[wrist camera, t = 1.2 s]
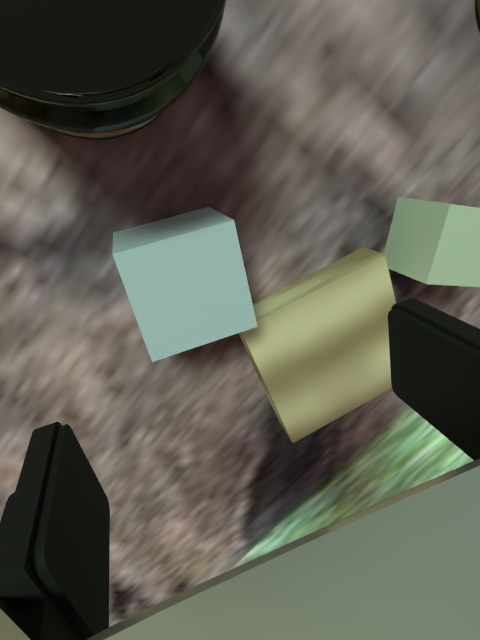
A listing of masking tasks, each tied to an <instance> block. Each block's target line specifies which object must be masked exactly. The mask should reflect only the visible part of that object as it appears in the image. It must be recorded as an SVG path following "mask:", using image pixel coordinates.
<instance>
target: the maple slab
mask: <svg viewBox="0 0 480 640" xmlns="http://www.w3.org/2000/svg"><path fill="white" fill-rule="evenodd" d="M394 304H396V301H395V296H394V292H393V288H392V283H391V279H390V274H389V270H388V266H387V261H386V257H385V254H382V253H379V252H376V251H373V250H371V249H368V248H365V247H363V248H361V249H359V250H357V251H355V252H353V253H351V254H349V255H347V256H345V257H343V258H341V259H339V260H337V261H335V262H333V263H331V264H329V265H327V266H326V267H324V268H322V269H320V270H318V271H316V272H314V273H312V274H310V275H308V276H306V277H304V278H302V279H300V280H298V281H296V282H294V283H292V284H290V285H288V286H286V287H284V288H282V289H280V290H278V291H277V292H275V293H273V294H271V295H269V296H267V297H265V298H263V299H261V300H259V301H257V302H255V303H253V308H254V313H255V317H256V322H257V326H258V327H255V328H252V329H249V330H246V331H243V332H240V333H238V334H239V336H240V338H241V340H242V342H243V345H244V347H245V349H246V351H247V353H248V355H249V358H250V360H251V362H252V364H253V366H254V368H255V370H256V373H257V375H258V377H259V379H260V381H261V383H262V385H263V388H264V390H265V392H266V394H267V396H268V398H269V401H270V403H271V405H272V407H273V409H274V411H275V413H276V416H277V418H278V420H279V422H280V424H281V426H282V427H283V429H284V430H285V432H286V434H287V435H288V437H289V438H290V440H291V442H292V443H294V442H296V441H298V440H300V439H302V438H303V437H305V436H307V435H309V434H311V433H312V432H314V431H316V430H318V429H320V428H321V427H323V426H325V425H327V424H329V423H330V422H332V421H334V420H336V419H338V418H339V417H341V416H343V415H345V414H347V413H348V412H350V411H352V410H354V409H356V408H357V407H359V406H361V405H363V404H365V403H366V402H368V401H370V400H372V399H374V398H375V397H377V396H379V395H381V394H383V393H384V392H386V391H388V390H390V389H392V385H391V369H390V350H389V331H388V312H389V311H391V308H392V306H393V305H394Z"/></svg>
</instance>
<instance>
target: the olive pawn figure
mask: <svg viewBox="0 0 480 640" xmlns="http://www.w3.org/2000/svg"><path fill="white" fill-rule="evenodd" d="M477 9H478V16H479V20H480V0H477Z"/></svg>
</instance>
